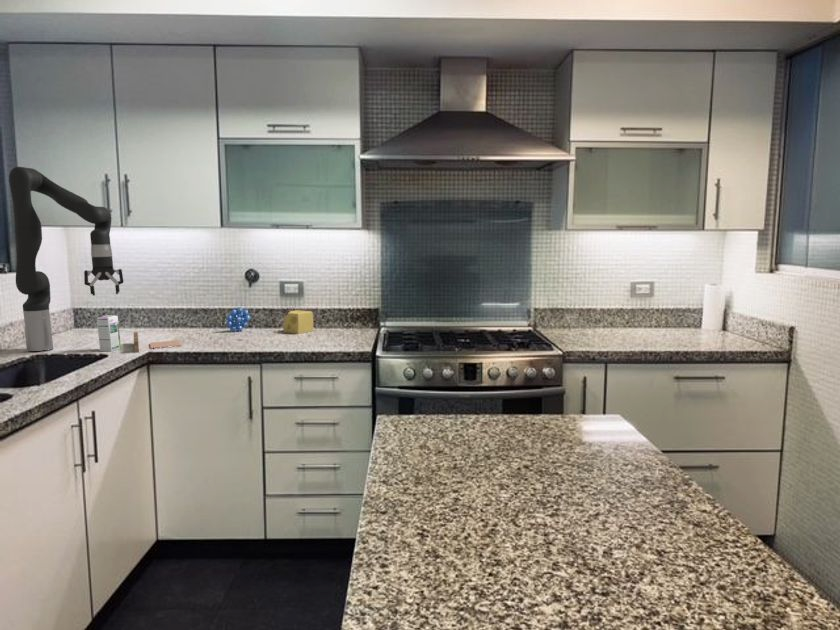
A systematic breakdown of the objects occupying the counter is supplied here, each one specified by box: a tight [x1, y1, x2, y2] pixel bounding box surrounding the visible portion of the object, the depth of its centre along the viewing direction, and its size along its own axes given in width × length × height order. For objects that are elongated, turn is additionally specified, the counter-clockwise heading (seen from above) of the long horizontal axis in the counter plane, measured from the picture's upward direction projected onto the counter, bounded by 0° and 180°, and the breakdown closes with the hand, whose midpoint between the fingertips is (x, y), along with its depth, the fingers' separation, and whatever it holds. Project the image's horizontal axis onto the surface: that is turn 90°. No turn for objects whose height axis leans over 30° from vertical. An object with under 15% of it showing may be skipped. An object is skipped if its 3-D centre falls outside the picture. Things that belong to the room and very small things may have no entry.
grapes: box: [225, 307, 251, 332], centre depth 289 cm, size 12×7×12 cm, turn 114°
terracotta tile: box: [149, 340, 182, 350], centre depth 256 cm, size 12×12×1 cm
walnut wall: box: [133, 331, 140, 353], centre depth 251 cm, size 22×2×5 cm, turn 26°
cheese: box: [283, 309, 314, 335], centre depth 287 cm, size 10×11×10 cm
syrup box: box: [96, 314, 122, 352], centre depth 246 cm, size 6×6×14 cm
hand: (105, 294), depth 244 cm, fingers open, 8 cm apart
